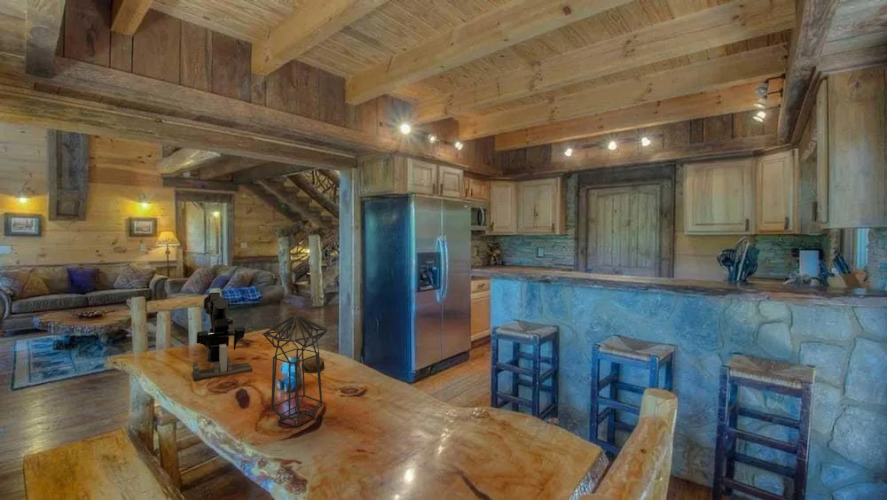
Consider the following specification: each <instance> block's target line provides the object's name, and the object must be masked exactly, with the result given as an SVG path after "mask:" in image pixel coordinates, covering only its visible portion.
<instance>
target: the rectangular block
mask: <svg viewBox="0 0 887 500" xmlns="http://www.w3.org/2000/svg"><path fill="white" fill-rule="evenodd" d="M229 357H230V356H228V347H227V346H226V344H219V361H218V362H219V363H218V365H219V369H220V372H225V371H227V361H229V360H230V358H229Z"/></svg>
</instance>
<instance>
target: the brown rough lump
mask: <svg viewBox="0 0 887 500" xmlns="http://www.w3.org/2000/svg"><path fill="white" fill-rule="evenodd" d="M311 356H312V355H311ZM311 356H310V355H309V356H308V357H305V358H304V359H306V358H309V357H311ZM319 359H320V372H321V371H323V370H324V368H325V361H324V358H322V357H321V356H319ZM301 367H302V364H301ZM304 373H317V363H316V356H315V357H312V358H309V359H306V360H304Z"/></svg>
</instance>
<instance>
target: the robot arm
mask: <svg viewBox="0 0 887 500" xmlns="http://www.w3.org/2000/svg"><path fill="white" fill-rule="evenodd" d="M226 299H227V298H225V297H223V296H221V293H220V292H210V293H208V295H207V296H206V297H204V299H203V310H205V311H204V312H205V313H206V314H207V315H208V316H209V320H210V321H209V322H210V329H209V332H208V330H201V331H197V333H196V344H200V345H201V346H202V345H203V346H204V347H205V348H206V350H207V361H209V362H212V363H217V362H219V344H226V346H227V348H228V347H229V346H230V344H229V343H230V337H231V336H233V350H234V351H235V350H236V347H237V343H238V342H239V340H240V341H241V339H243V338H244V337H245V334H246V329H245V328H246V327H244V326H237V327H234V330H229V329H230V325H231V326H232V325H233V324H234V319H233V316H230V317H229V316H228V317H227V313H228V308H229V307H230V306H231V304H230V302H229V301H228V300H226Z"/></svg>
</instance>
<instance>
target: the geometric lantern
mask: <svg viewBox="0 0 887 500" xmlns="http://www.w3.org/2000/svg"><path fill="white" fill-rule="evenodd" d="M284 324H285V325H284ZM282 325H284V326H283V327H282V328H281V329H280V330H275V329H277V328H279V327H280V326H282ZM298 326H299V329H300V332H301V335H302V337H300V338H297V333H298V332H297V331H298V329H297V328H298ZM273 330H275V331H273ZM294 330H295V331H294ZM303 330H304V331H305V332H306V334H307V335H308V336H307V337H306V336H305V333H304V331H303ZM289 331H290V333H289ZM313 331H315V332H316V333H315V335H313ZM319 331H320V332H319ZM321 331H322V332H321ZM328 331H329V329H328V328H326V327H325V326H322V325H320V324H318V323H316V322H313V321H312V320H309V319H307V318H305V317H303V316H301V315H299V314H298V315H297V314H296V315H295V314H294V315H292V316H290V317H288V318H286V319H285V320H283V321H282V322H279V323H278V324H276V325H275V326H273V327H272V328H270V329H267V331H265V332H262V334H261V336H264V338H265V339H266V340H267V341H268V342H269V343H270V344H271V345H272V347H273V348H275V349H276V350H275V352H274V353H275V354H274V356H273V357H272V370H271V371H272V373H271V374H272V375H271V399H270V400H271V401H270V403H271V405H270V406H271V407H270V411H271V412H273V413H274V414H276V415H277V416H278V417H279V422H280V423H282V424H285V425H287V426H291V427H294V428H296V426H297V427H300V426H302V425H304V424H305V423H307V422H308V420H309V421H311V420H313V419H315V412H317V410H318V409H320V408H322V407H323V396H322V394H323V393H322V379H321V376H322V375H321V371H320V359H319V357H320V350H319V349H320V348H319V344H318V340H320V339H321V338H322V337H323V336H324V335H326V333H327V332H328ZM294 332H295V337H294V338H295V340H293V339H292V337H293V334H294ZM288 333H289V334H288ZM273 334H275V335H273ZM285 334H286V337H283V336H284V335H285ZM270 338H271V339H270ZM310 339H311V340H312V341H311V342H312V343H309V344H308V345H307V343H308V341H309V340H310ZM274 340H276V342H277V343H276V344H277V345H276V344H275V341H274ZM300 341H304V344H303V343H302V342H300ZM280 342H285V343H283V344H282V345H280ZM290 342H292V343H293V345H294V346H295V347H296V348H293V349H290V350H287V351H284V349H283V347H284V346H286V345H288V344H289V343H290ZM296 343H297V344H298V345H300V346H301V348H299V347H298V345H297V344H296ZM315 343H316V346H315ZM311 346H312V348H313V350H310V349H307V348H309V347H311ZM316 347H317V349H316ZM278 349H279V350H280V351H281V352H280V353H278ZM293 351H296V358H295V359H296V360H295V361H291V360H290V359H289V358H288V356H287V354H286V353H289V352H293ZM299 351H301V353H300V354H299ZM306 351H307V352H311V353H314V354H315V355H311V357H310V356H308V357H309V358H312V357H315V356H316V363H317V372H316V373H317V383H318V393H319V399H317V398H314V397H311V396H309V395H306V388H305V387H306V385H305V372H304V360H306V359H309V358H307V357H305V358H306V359H305V358H304V352H306ZM281 355H284V357H285V359H286V360H287V361H286V360H284V359H280V358H278V356H281ZM300 357H301V359H300ZM299 359H300V360H299ZM278 361H280V362H284V363H286V364H288V399H285V400H283V401H281V402H279V403H276V404H275V394H276V392H275V390H276V379H277V377H276V376H277V363H278ZM300 362H301V365H302V366H301V370H302V392H303V394H301V395H300V394H299V385H298V382H299V381H298V371H299V369H298V368H299V366H298V364H299V363H300ZM291 364H292V365H294V375H295V378H294V379H295V391H294V396H292V397H291V390H292V389H291V387H292V386H291V385H292V384H291V378H292V376H291V374H292V373H291V372H292V370H291V369H292V367H291ZM301 397H302V398H301ZM299 398H301V400H300V401H299ZM304 398H306V399H309V400H312V401H315V402H318V404H317V405H316V406H315V407H314V408H310V407H305V406H303V405H302V406H301V404H302V402H303V399H304ZM293 399H294V400H295V401H294V403H295V406H292V407H291V400H293ZM286 402H288V409H287V410H285V411H284V412H283V413H282V412H279V411H278V410H277V409H276V408H275V407H277V406H280V405H282V404H284V403H286ZM302 408H303V409H306V410H307V411H305V412H304V411H301V409H302ZM293 409H294V412H291V411H292V410H293ZM285 413H286V414H287V413H288V415H285ZM300 413H301V414H300ZM294 414H297V415H295V416H293V415H294ZM308 416H310V417H311V418H308V419H307V420H305V421H303V422H301V423H300V421H301V420H302V419H304V418H306V417H308ZM312 418H313V419H312ZM286 419H287V420H289V421H292V422H294V424H292V423H288V422H286V421H283V420H286ZM310 419H311V420H310ZM306 421H307V422H306ZM301 424H302V425H301Z"/></svg>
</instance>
